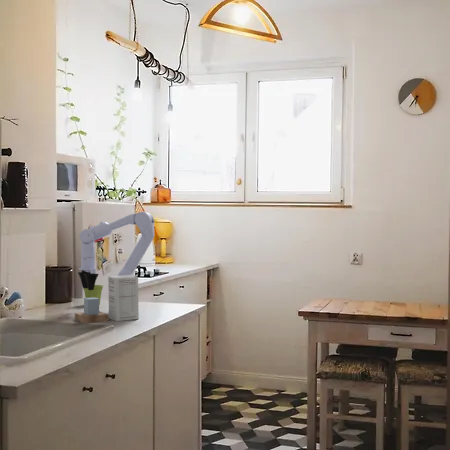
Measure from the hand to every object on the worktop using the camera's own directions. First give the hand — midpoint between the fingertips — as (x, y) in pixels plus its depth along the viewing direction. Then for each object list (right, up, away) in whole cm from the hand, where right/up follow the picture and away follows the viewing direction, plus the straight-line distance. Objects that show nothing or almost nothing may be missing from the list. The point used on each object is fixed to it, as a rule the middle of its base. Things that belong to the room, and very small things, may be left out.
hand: (88, 289), depth 267 cm
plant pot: (-2, -9, +20) cm, 22 cm away
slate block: (+6, -7, -23) cm, 25 cm away
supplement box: (+18, -10, -19) cm, 28 cm away
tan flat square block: (+6, -10, -23) cm, 26 cm away
